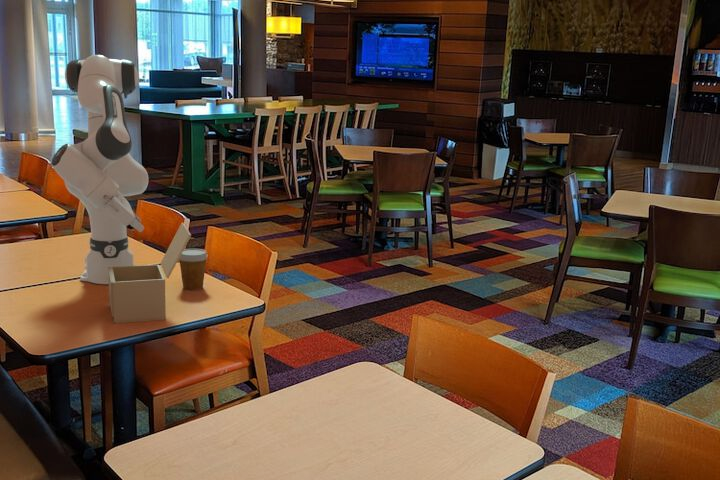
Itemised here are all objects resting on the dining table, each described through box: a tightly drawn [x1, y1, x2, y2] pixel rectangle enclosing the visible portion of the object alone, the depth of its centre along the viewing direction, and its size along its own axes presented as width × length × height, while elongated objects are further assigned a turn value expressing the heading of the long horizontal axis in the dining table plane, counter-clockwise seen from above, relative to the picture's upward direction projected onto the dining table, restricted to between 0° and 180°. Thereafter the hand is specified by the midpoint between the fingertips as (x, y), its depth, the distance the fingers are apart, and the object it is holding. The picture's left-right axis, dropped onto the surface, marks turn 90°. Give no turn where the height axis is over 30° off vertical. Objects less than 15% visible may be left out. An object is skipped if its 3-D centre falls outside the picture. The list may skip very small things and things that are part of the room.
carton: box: [108, 264, 167, 324], centre depth 219 cm, size 16×15×12 cm
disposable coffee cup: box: [178, 248, 209, 291], centre depth 244 cm, size 10×10×12 cm
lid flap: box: [159, 222, 192, 279], centre depth 220 cm, size 16×14×1 cm
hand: (140, 226), depth 215 cm, fingers open, 8 cm apart
